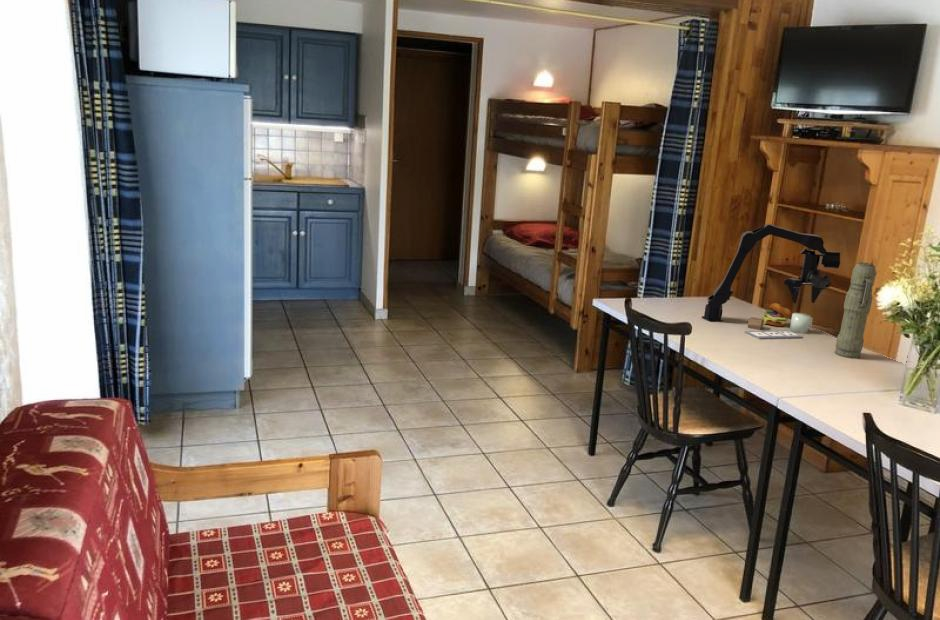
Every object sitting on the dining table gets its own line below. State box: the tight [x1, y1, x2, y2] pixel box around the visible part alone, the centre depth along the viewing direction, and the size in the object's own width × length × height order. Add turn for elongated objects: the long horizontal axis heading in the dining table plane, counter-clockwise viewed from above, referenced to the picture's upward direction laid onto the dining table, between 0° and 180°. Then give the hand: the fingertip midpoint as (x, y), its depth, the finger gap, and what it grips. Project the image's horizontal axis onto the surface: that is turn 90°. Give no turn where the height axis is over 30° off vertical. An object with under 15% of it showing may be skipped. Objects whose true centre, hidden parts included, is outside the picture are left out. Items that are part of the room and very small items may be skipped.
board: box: [744, 329, 804, 340], centre depth 311 cm, size 21×9×1 cm, turn 108°
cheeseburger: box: [761, 302, 792, 327], centre depth 329 cm, size 10×11×10 cm
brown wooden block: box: [747, 316, 764, 331], centre depth 321 cm, size 5×5×4 cm
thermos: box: [834, 261, 877, 359], centre depth 287 cm, size 9×12×35 cm
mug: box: [788, 312, 814, 335], centre depth 320 cm, size 9×7×7 cm
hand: (803, 303), depth 318 cm, fingers open, 9 cm apart
